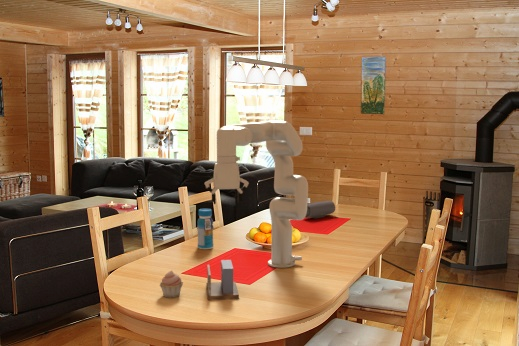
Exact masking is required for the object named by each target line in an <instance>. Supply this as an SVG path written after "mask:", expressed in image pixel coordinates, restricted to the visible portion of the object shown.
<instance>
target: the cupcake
mask: <svg viewBox="0 0 519 346" xmlns="http://www.w3.org/2000/svg"><path fill="white" fill-rule="evenodd" d="M183 284H184V282H182V278H181V277H180V276H179V275H178V274H176V273H174V272H173V270H170V271H168V272H167V273H166V274H165V275H164V276H163V277H162V279H161V282H160V283H159V287H160V288H161V291H162V295H163V296H164V297H165V298H169V299H170V298H171V299H173V298H174V299H175V298H177V297H179V296H180V294H181V292H182V291H181V290H182V287H183Z"/></svg>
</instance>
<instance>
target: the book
mask: <svg viewBox="0 0 519 346" xmlns="http://www.w3.org/2000/svg"><path fill="white" fill-rule="evenodd" d="M220 266H221V267H220V270H221V271H220V273H221V274H220V275H221V276H220V277H221V278H220V280H221V281H220V282H221V285H222V290H223V294H228V293H233V282H234V266H233V263H232V259H221V260H220Z"/></svg>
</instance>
